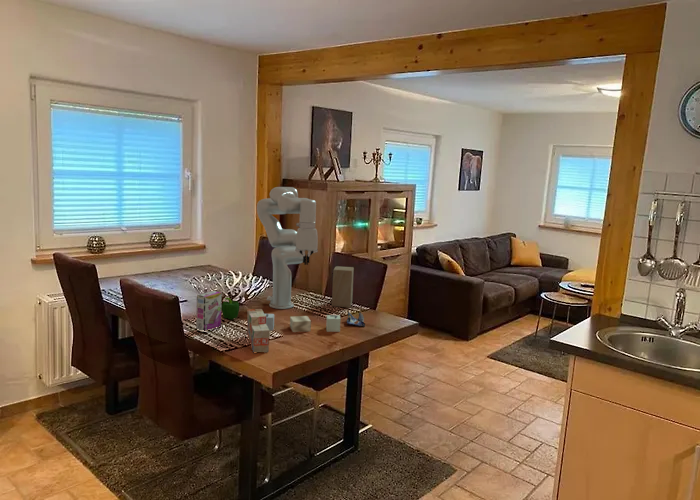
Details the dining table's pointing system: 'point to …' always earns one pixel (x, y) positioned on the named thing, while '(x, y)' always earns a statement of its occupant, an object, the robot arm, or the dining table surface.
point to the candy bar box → (209, 310)
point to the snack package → (352, 319)
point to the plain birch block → (300, 323)
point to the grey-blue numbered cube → (270, 321)
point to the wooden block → (342, 286)
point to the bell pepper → (230, 309)
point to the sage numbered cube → (333, 323)
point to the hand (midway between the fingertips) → (306, 264)
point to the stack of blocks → (257, 330)
